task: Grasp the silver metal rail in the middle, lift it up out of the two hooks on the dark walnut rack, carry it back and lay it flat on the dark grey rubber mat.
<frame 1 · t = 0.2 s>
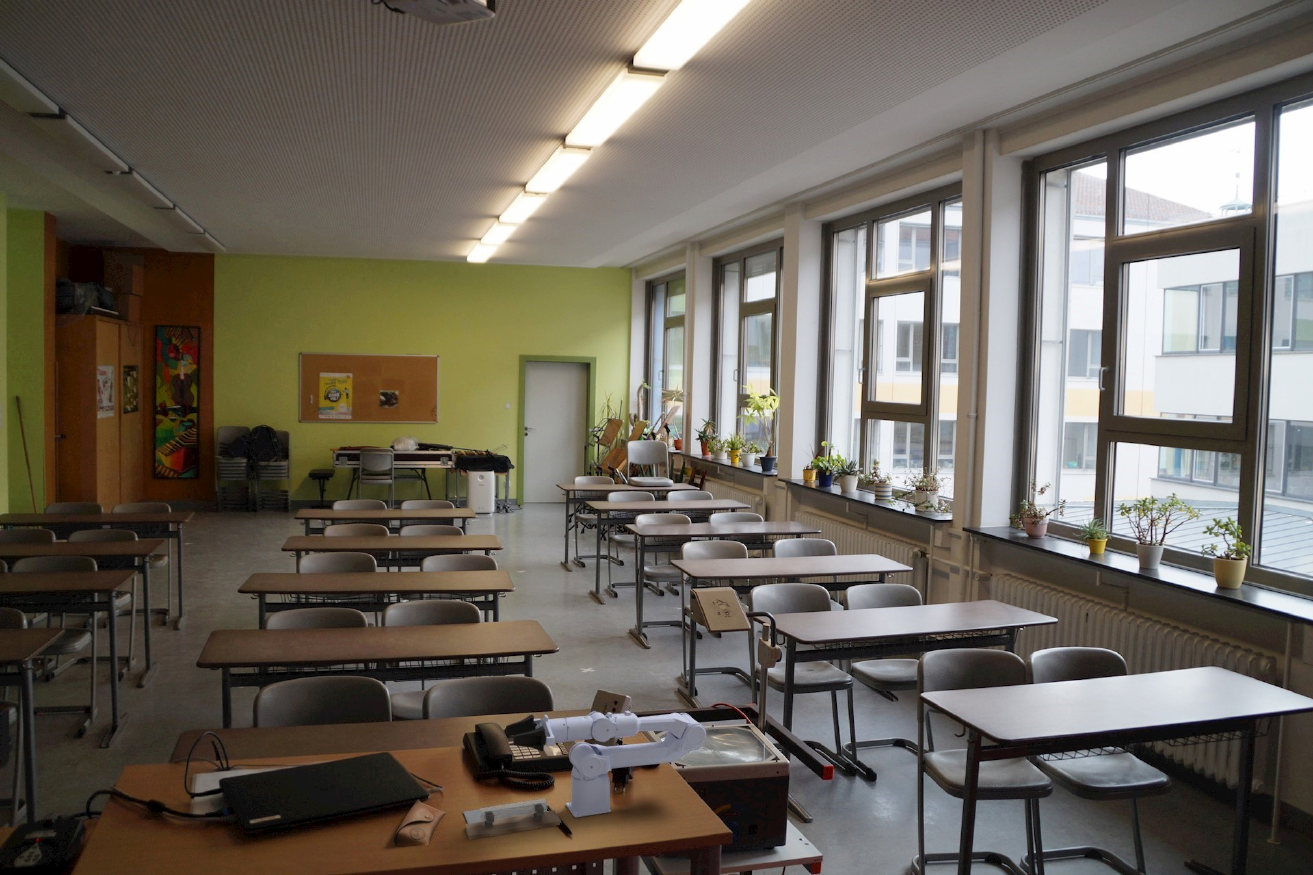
hand: (510, 735, 218), 21 cm above the table, tool horizontal, fingers open, 7 cm apart
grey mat: (506, 812, 223), on the table
rail: (513, 814, 216), point 3 cm above the table, touching hook rack
hook rack: (513, 826, 216), on the table
sunglasses case: (420, 830, 215), on the table
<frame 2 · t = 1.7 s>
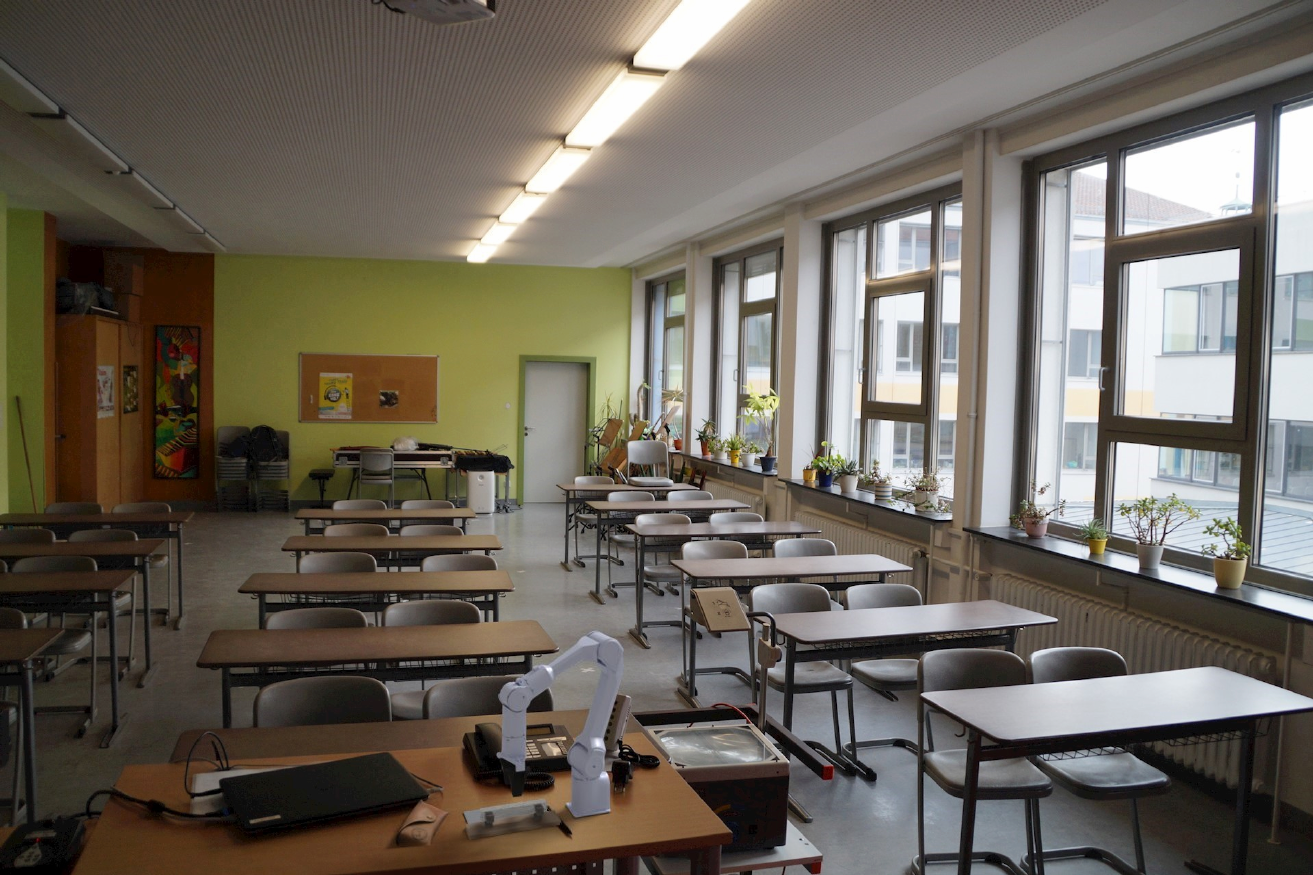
hand: (513, 789, 216), 9 cm above the table, tool pointing down, fingers open, 7 cm apart
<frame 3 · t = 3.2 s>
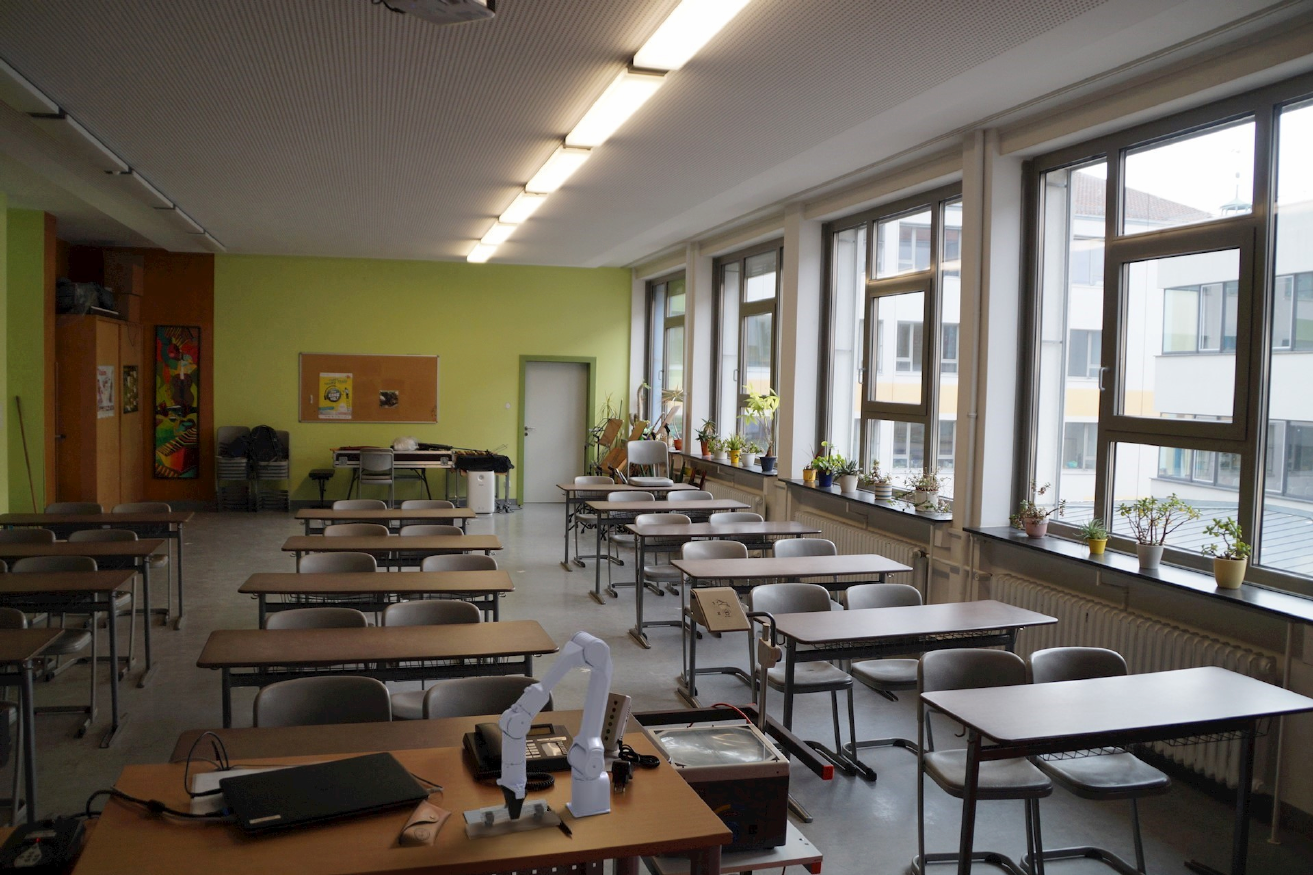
hand: (513, 816, 216), 3 cm above the table, tool pointing down, fingers closed on rail, 2 cm apart
rail: (513, 814, 216), point 3 cm above the table, touching gripper, hook rack
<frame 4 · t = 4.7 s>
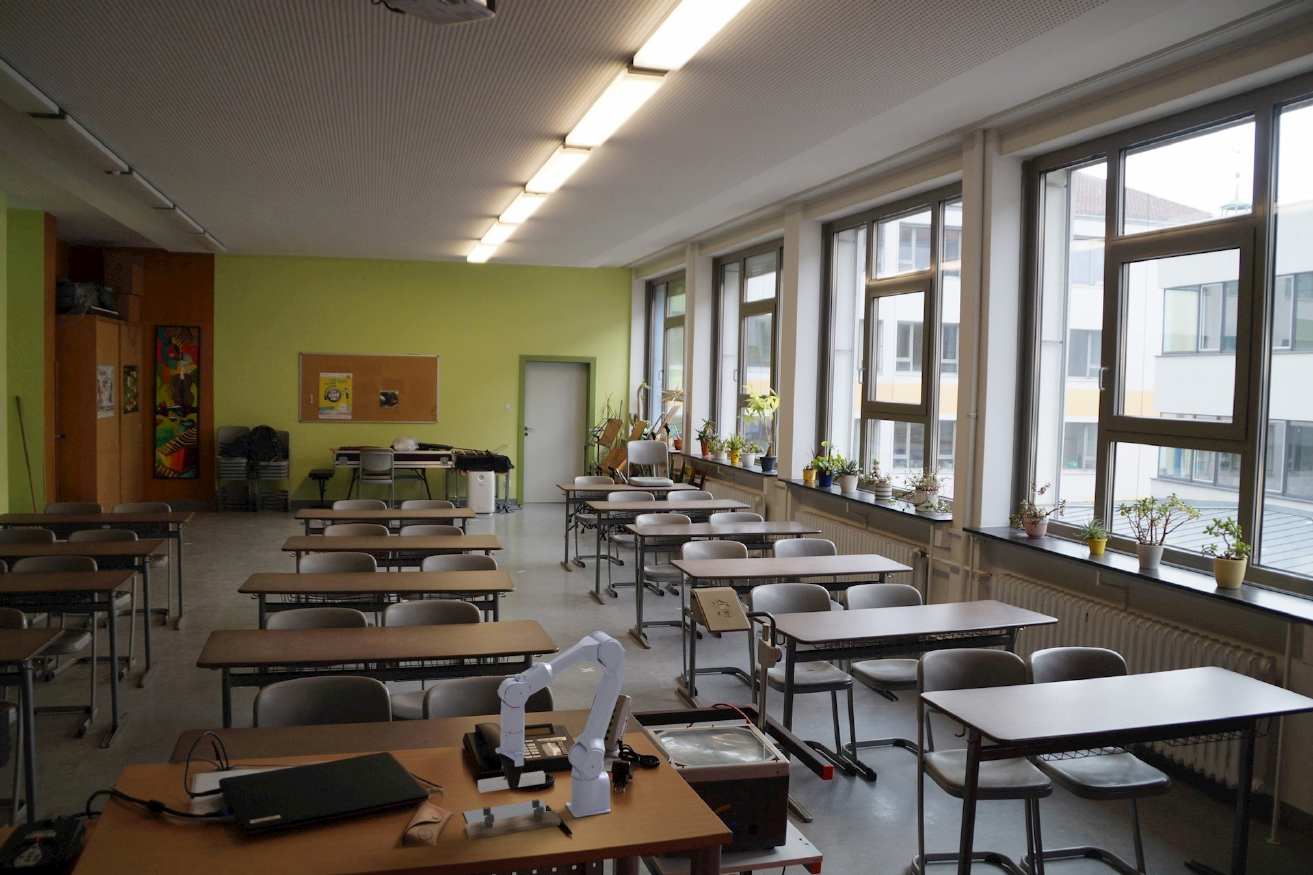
hand: (512, 785, 217), 9 cm above the table, tool pointing down, fingers closed on rail, 2 cm apart
rail: (511, 786, 217), point 9 cm above the table, touching gripper
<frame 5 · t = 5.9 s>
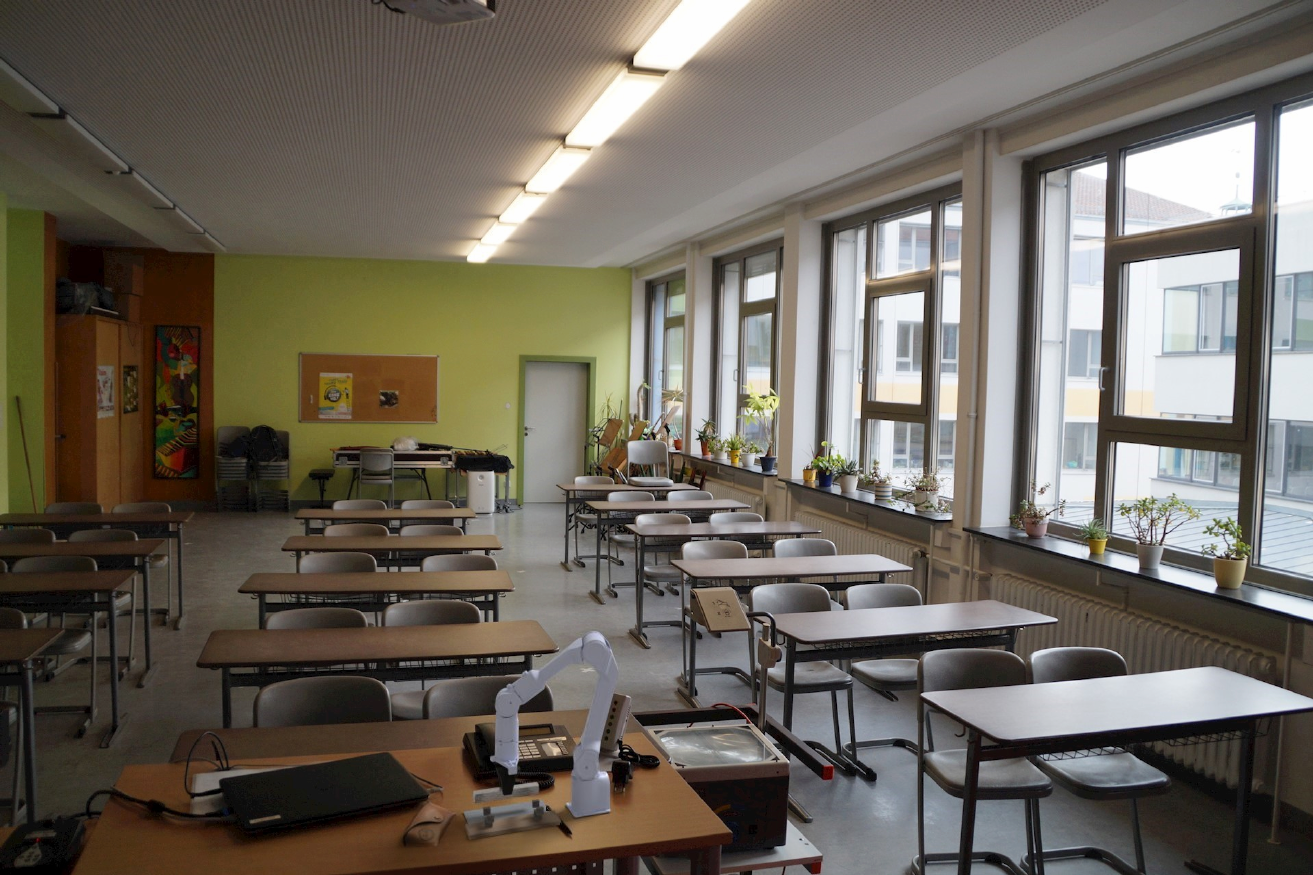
hand: (506, 792, 223), 5 cm above the table, tool pointing down, fingers closed on rail, 2 cm apart
rail: (506, 797, 223), point 4 cm above the table, touching gripper
when the fingers open (2 cm above the table, at t = 6.8 s): rail stays where it is, resting on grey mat.
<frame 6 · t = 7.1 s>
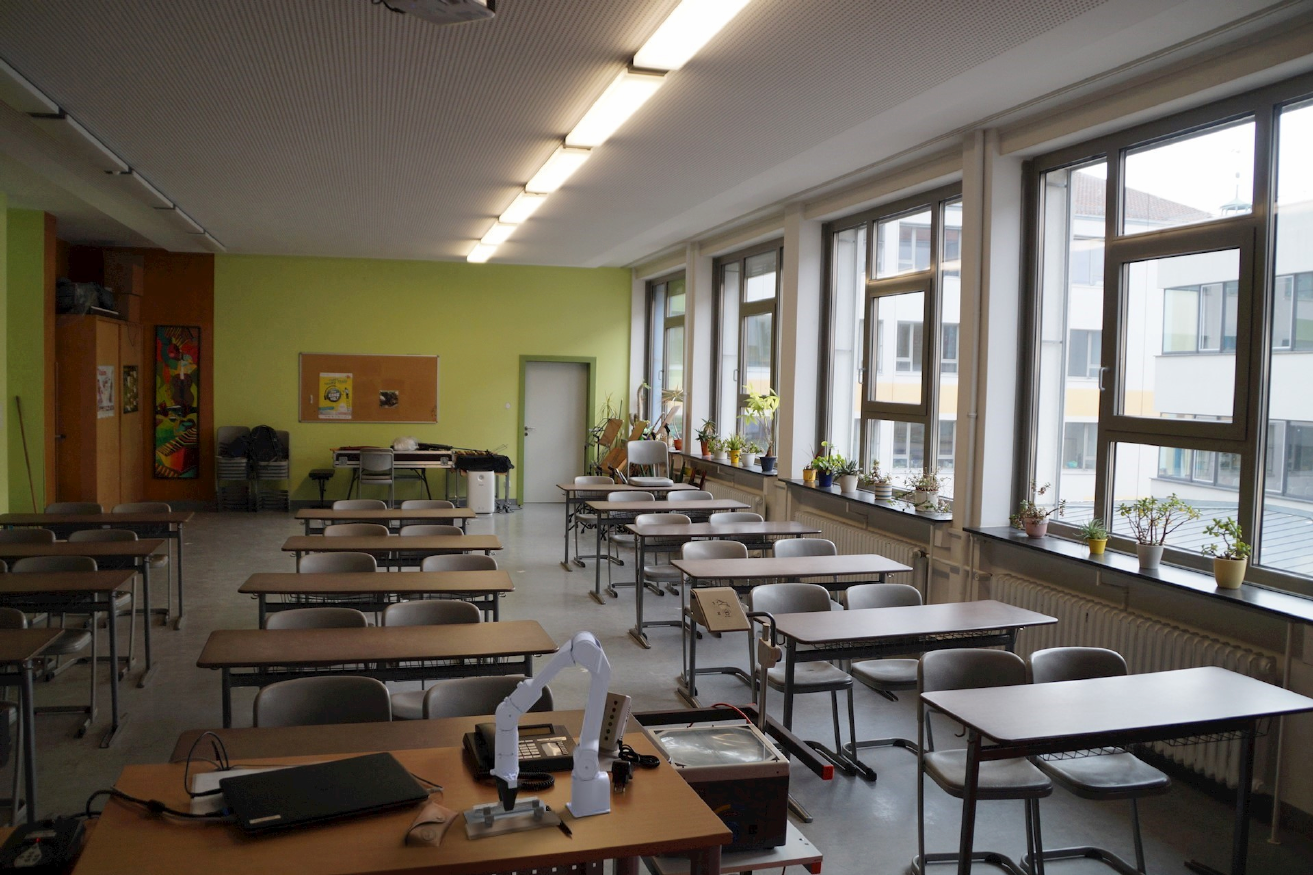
hand: (506, 805, 223), 2 cm above the table, tool pointing down, fingers open, 5 cm apart
rail: (506, 811, 223), resting on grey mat
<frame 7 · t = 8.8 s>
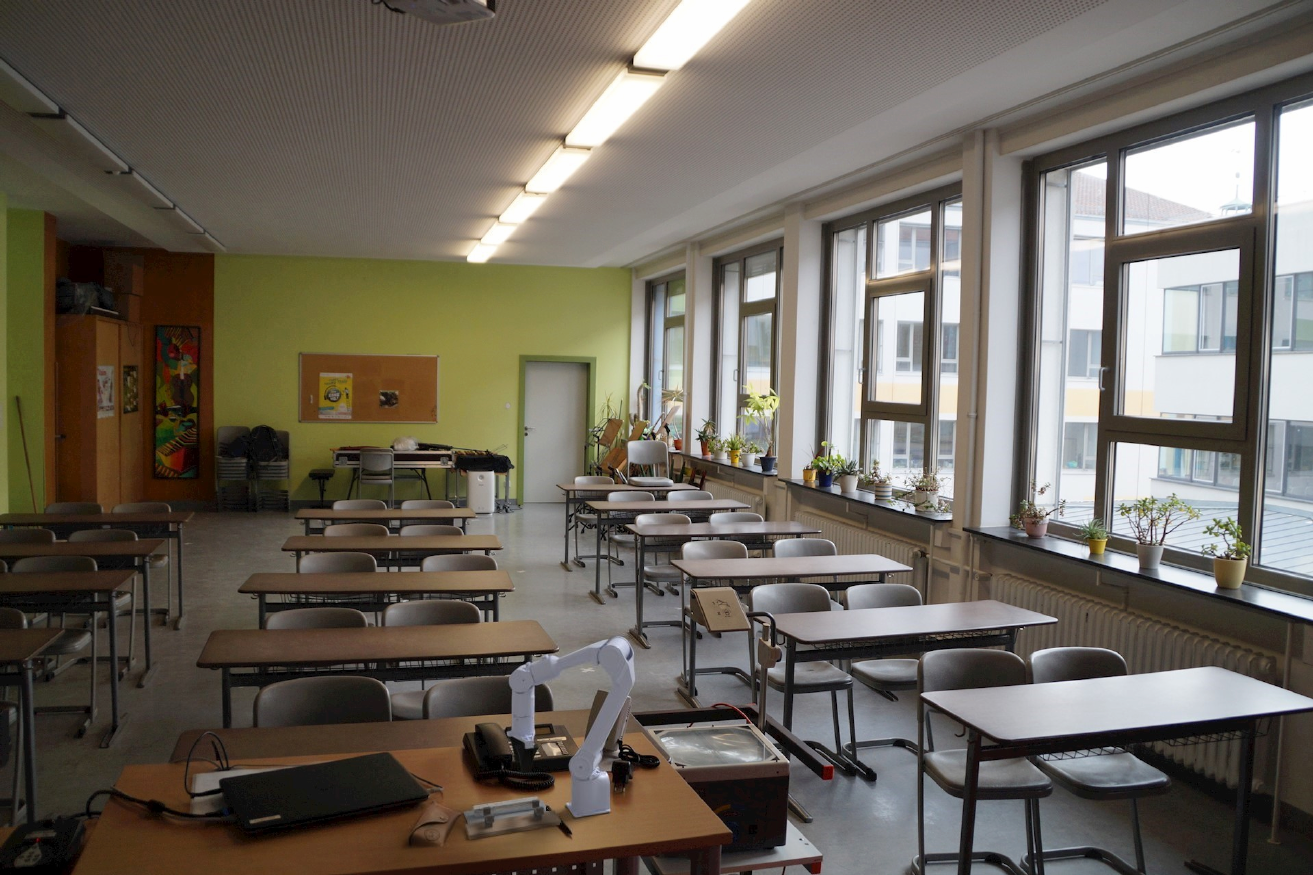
hand: (522, 766, 229), 9 cm above the table, tool pointing down, fingers open, 7 cm apart
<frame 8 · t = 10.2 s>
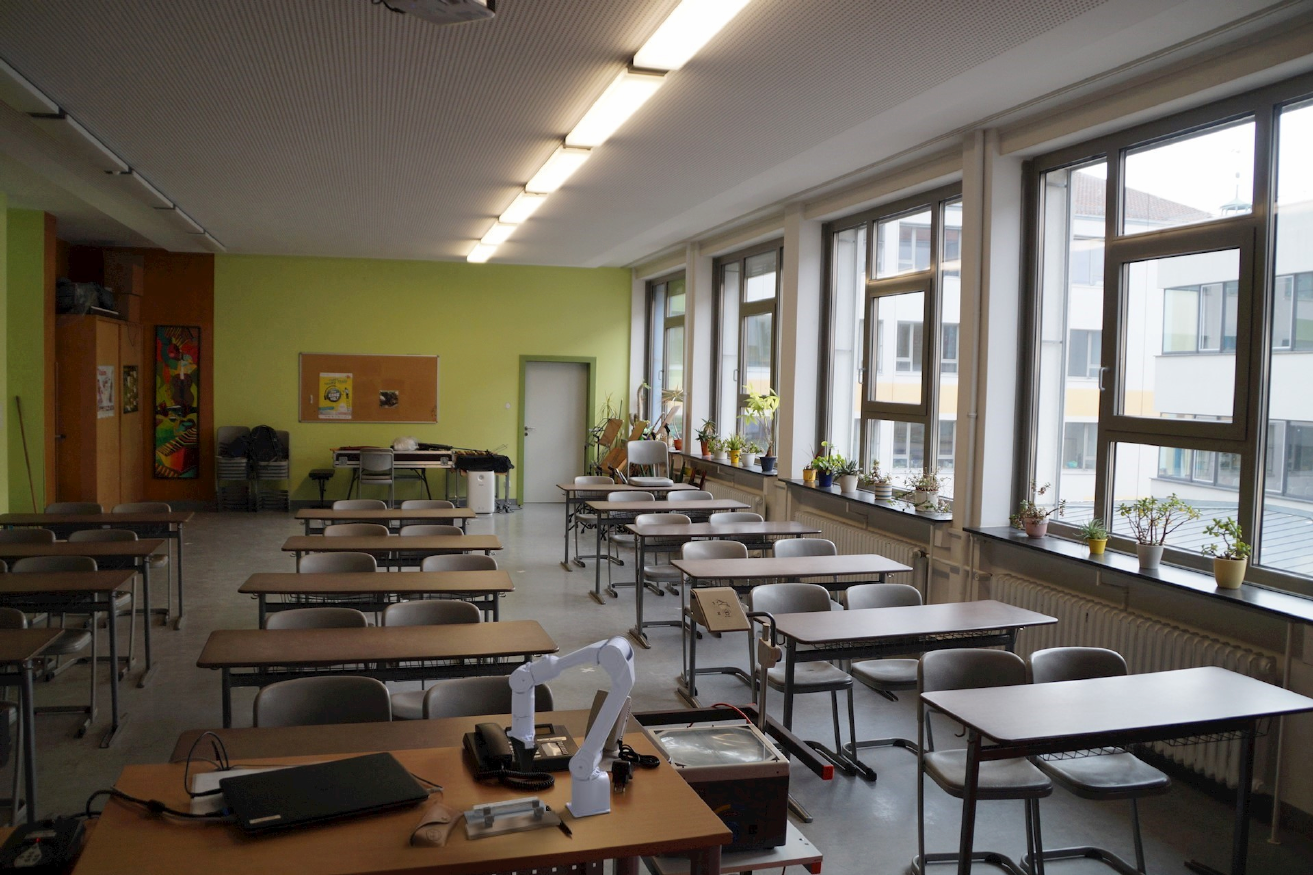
hand: (522, 766, 229), 9 cm above the table, tool pointing down, fingers open, 7 cm apart
at the end: rail 0.0 cm from the target spot, resting on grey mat; rail tilted 0°; the gripper is holding nothing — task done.
